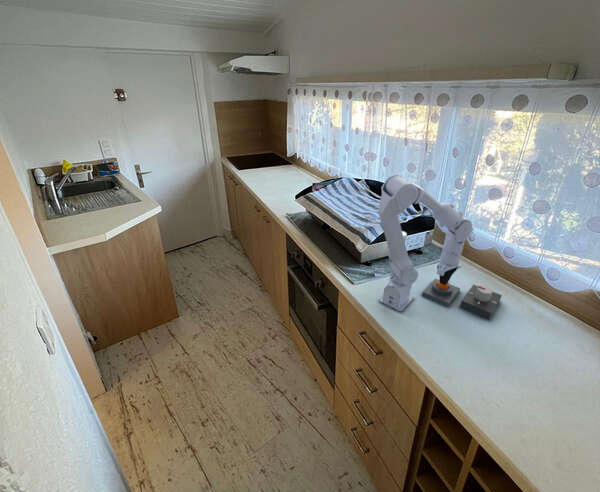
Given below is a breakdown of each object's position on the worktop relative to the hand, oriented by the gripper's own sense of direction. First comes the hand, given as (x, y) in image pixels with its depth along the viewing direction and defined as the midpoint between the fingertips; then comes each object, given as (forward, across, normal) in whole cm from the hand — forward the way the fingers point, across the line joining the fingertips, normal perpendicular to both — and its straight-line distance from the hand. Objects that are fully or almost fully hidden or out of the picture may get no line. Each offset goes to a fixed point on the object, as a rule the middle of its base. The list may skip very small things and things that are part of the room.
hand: (443, 283), depth 107 cm
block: (+5, 0, 0) cm, 5 cm away
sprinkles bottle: (+5, +9, +22) cm, 24 cm away
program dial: (+2, +3, -12) cm, 12 cm away
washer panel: (+5, +3, -12) cm, 13 cm away
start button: (+2, 0, 0) cm, 2 cm away
